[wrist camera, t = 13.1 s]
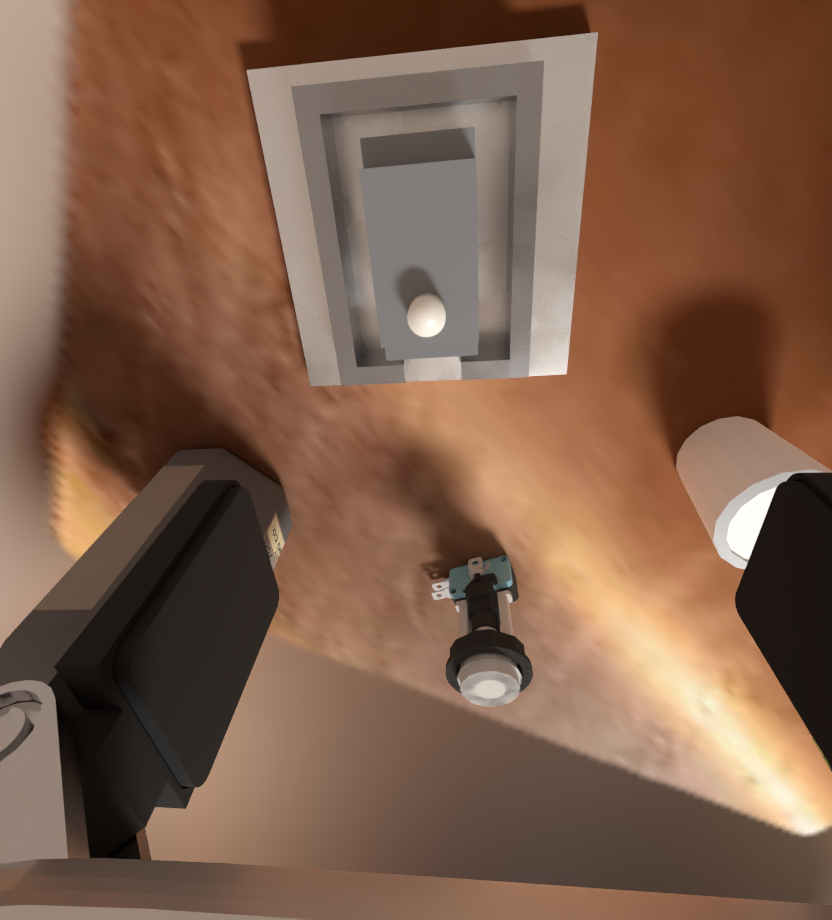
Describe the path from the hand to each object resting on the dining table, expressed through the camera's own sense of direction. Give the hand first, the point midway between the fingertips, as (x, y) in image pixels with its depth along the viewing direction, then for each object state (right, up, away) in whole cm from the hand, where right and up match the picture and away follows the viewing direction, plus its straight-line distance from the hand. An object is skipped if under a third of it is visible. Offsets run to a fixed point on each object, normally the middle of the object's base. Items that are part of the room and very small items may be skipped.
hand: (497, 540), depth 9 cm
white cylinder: (+18, +2, +22) cm, 29 cm away
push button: (+3, -7, +29) cm, 30 cm away
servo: (-1, +13, +16) cm, 20 cm away
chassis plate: (-1, +13, +17) cm, 21 cm away
